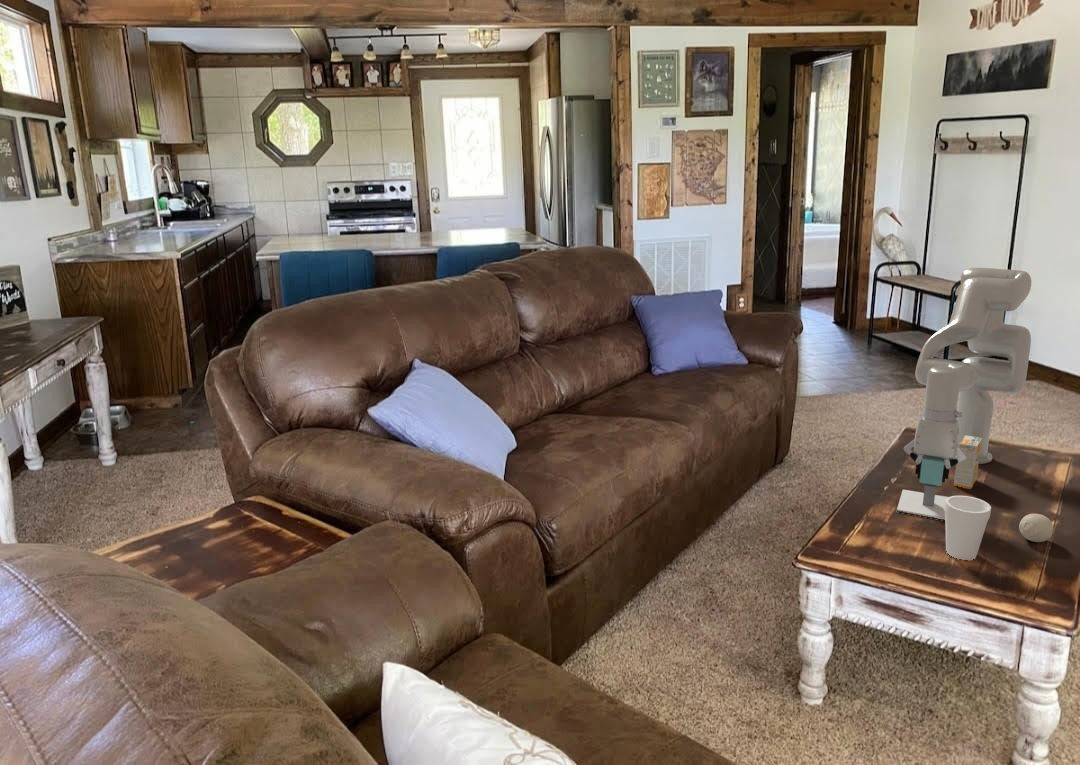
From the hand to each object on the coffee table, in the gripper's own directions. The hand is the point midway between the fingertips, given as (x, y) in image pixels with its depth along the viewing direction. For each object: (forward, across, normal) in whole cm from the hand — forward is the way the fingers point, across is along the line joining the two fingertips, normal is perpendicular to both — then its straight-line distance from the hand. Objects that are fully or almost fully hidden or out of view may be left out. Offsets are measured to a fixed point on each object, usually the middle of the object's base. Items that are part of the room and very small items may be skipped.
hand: (931, 478), depth 209 cm
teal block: (+1, 0, 0) cm, 1 cm away
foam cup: (+9, -9, +24) cm, 27 cm away
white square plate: (+8, 0, 0) cm, 8 cm away
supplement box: (+8, -8, -21) cm, 24 cm away
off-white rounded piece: (+9, -24, +9) cm, 27 cm away
